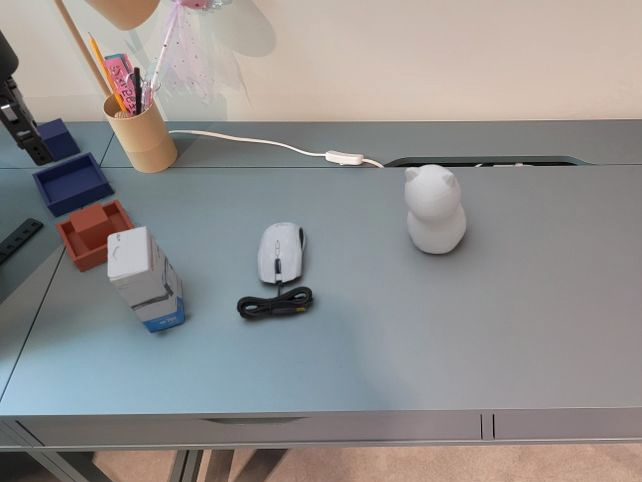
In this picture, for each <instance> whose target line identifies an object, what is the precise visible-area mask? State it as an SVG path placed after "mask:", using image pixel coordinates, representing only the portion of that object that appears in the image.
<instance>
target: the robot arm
mask: <svg viewBox="0 0 642 482" xmlns="http://www.w3.org/2000/svg"><path fill="white" fill-rule="evenodd" d="M19 65H20V60H19V57H18V55H17V53H16V52H15V50H14V49H13V48H12V46H11V44H10V43H9V41H8V39H7V37H5V34H4V33H3V32H2V30H1V29H0V125H1V126H2V127H3V128H4V129H6V130H7V132H8V133H9V134H10V136H11V137H12V139H13V140H14V141H15V143H16V146H17V148H20V150H22V151H23V150H25V151H26V153H27V154H28V156H29V157H30V158H31V160H32V161H33V162H34V164H35V166H37V167H42V166H45V165H46V166H47V165H48V164H51V163H54V162H53V161H54V157H53V155H52V154H51V152H50V151H49V149H48V148H47V147H46V145H45V144H44V142H43V141H42V138H41V135H40V133H39V132H37V130H36V129H35V128H36V127H37V126H38V124H37V122H36V120H35V117H34V115H33V114H32V112H31V110H30V108H29V107H28V105H27V104H26V102H25V101H24V95H23V93H22V92H21V90H20V89H19V85H18V83H17V82H16V80H15V78H14V76H13V75H14V74H15V73H16V72H17V70H18V68H19ZM20 133H24V134H21V135H20Z"/></svg>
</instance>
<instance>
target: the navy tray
mask: <svg viewBox="0 0 642 482" xmlns="http://www.w3.org/2000/svg"><path fill="white" fill-rule="evenodd" d="M31 176H32V178H33V181H34V182H35V184H36V187H37V189H38V191H39V193H40V196H41V197H42V199H43V201H44V204H45V206H46V207H47V209H48V210H49V212H50V213H51V214H52V215H53V217H54V218H57V217H58V218H59V216H63V215H65V214H68V213H69V212H71V211H74V210H77V209H79V208H82V207H85V206H87V205H89V204H92V203H94V202H97V201H99V200H102V199H104V198H107V197H109V196H111V195H114V194H115V191H114V190H113V188H112V186H111V183H110V182H109V181H108V179H107V177H106V175H105V174H104V172H103V170H102V168H101V167H100V165H99V163H98V162H97V160H96V158H95V156H94V155H93V153H92V151H90V152H87V153H84V154H82V155H78V156H76V157H74V158H71V159H68V160H65V161H63V162H60V163H58V164H54V165H52V166H49V167H47V168H45V169H42V170H39V171H36V172H34V173H32V174H31Z"/></svg>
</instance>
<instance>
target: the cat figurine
mask: <svg viewBox="0 0 642 482" xmlns="http://www.w3.org/2000/svg"><path fill="white" fill-rule="evenodd" d="M404 177H405V179H406V182H405V185H404V192H403V193H404V202H405V205H406V207H407V209H408V213H407V216H406V226H407V229H408V234H409V236H410V238H411V240H412V242H413V244H414V245H415V246H416V247H417V248H418V249H419V250H420V251H422V252H425V253H428V254H435V255H436V254H437V255H438V254H439V255H440V254H447V253H449V252H452V251H453V249H455V247H456V246H457V245H459V243H460V241H461V240H462V238H463V237H464V235H465V233H466V230H467V217H466V211H465V210H464V207H463V205H462V204H461V200H462V199H461V198H462V189H461V186H460V184H459V181H458V179H457V178H456V176H455V175H454V173H453V172H451V171H450V170H449V169H448V168H445V167H443V166H441V165H438V164H425V165H422V166H419V167H415V166H414V167H413V166H412V167H407V168H406V169H405V170H404Z"/></svg>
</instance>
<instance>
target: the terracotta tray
mask: <svg viewBox="0 0 642 482" xmlns="http://www.w3.org/2000/svg"><path fill="white" fill-rule="evenodd" d="M100 205H101V206H102V208H103V209H104V211H105V212H106V214H107V215H108V217H109V218H110V220H111V221H112V223H113V224H114V226H115V228H116V230H117V232H118V233H119V232H123V231H127V230H131V229H134V228H135V226H134V224H133V223H132V221H131V219H130V217H129V216H128V214H127V212H126V210H125V209H124V207H123V206H122V203H121V202H120V200H119V199H118V198H116V199H114V200H111V201H109V202H106V203H104V204H100ZM55 227H56V229H57V231H58V233H59V236H60V237H61V239H62V241H63V244H64V246H65V247H66V250H67V252H68V254H69V256H70V258H71V261H72V262H73V264H74V265H75V267H76V268H77V269H78V270H79V271H80V273H83V272H85V271H87V270H90V269H91V268H94V267H96V266H99V265H100V264H103V263H105V262H108V243H107V244H105V245H103V246H100V247H98V248H96V249H94V250H91V251H89V249H88V248H87V246H86V245H85V244H84V242H83V241H82V240H81V238H80V237H79V236H78V234H77V233H76V231H75V229H74V227H73V225H72V223H71V221H70V219H69V218H68V219H65V220H62V221H60V222H58V223H56V224H55Z"/></svg>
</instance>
